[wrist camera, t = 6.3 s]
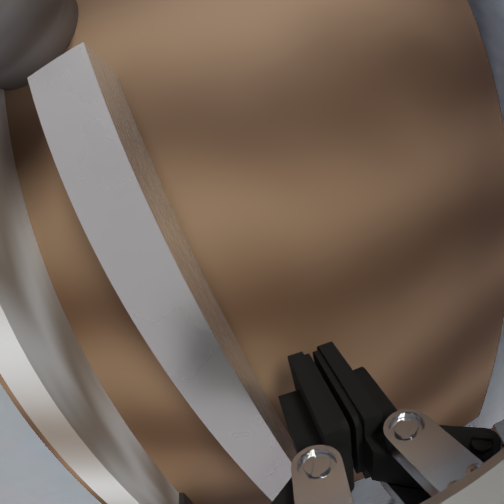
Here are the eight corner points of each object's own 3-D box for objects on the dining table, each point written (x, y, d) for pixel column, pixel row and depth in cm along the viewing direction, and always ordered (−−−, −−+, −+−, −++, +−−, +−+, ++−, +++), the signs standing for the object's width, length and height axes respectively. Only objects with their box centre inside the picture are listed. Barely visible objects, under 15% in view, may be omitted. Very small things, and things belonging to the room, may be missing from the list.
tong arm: (64, 102, 8) (17, 84, 5) (124, 68, 8) (94, 35, 5) (291, 498, 15) (303, 537, 12) (326, 485, 15) (341, 523, 12)
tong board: (-67, 60, 7) (-131, 45, 2) (423, -55, 9) (479, -91, 4) (126, 510, 16) (121, 567, 11) (470, 407, 17) (508, 447, 12)
